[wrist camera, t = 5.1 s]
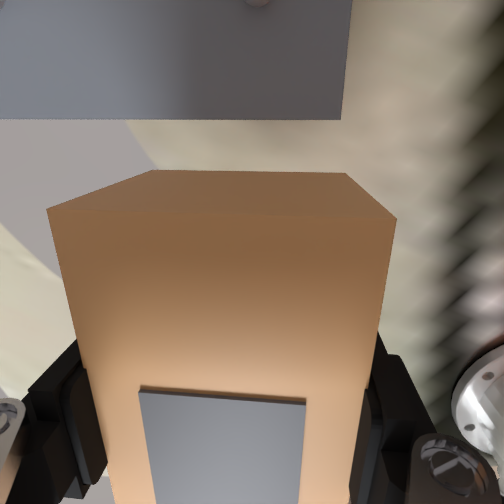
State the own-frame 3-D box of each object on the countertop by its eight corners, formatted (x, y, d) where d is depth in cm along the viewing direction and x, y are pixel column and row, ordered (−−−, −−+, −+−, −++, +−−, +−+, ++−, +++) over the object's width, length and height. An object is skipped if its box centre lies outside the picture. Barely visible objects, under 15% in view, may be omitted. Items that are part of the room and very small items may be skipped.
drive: (319, 418, 14) (336, 576, 9) (178, 407, 14) (124, 550, 9) (345, 172, 10) (398, 220, 5) (152, 170, 10) (42, 210, 6)
